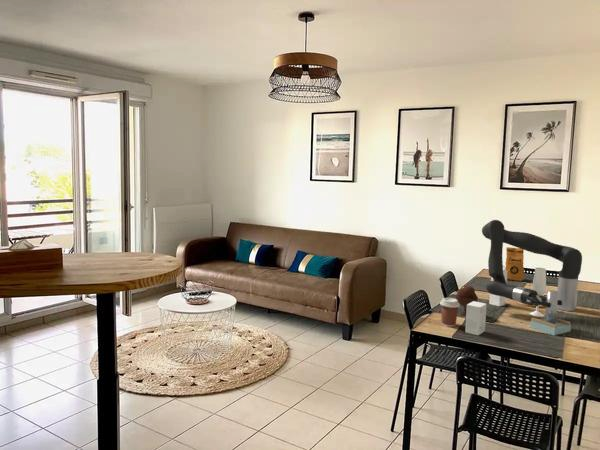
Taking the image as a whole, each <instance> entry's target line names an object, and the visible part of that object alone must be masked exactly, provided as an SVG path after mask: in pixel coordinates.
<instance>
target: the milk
mask: <svg viewBox="0 0 600 450" xmlns="http://www.w3.org/2000/svg"><path fill="white" fill-rule="evenodd" d="M505 268H506V265H503V274H504V277H505V281H506V284H507V283H508V279H507V270H506V269H505ZM490 281H494V280H493V278H492V277H491V276H490ZM507 285H508V284H507ZM506 300H507V298H506V297H502V296H497V295H493V294H490V293H489V301H488V302H489V303H488V304H490V305H493V306H495V307H496V306H497V307H502V306H506Z"/></svg>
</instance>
